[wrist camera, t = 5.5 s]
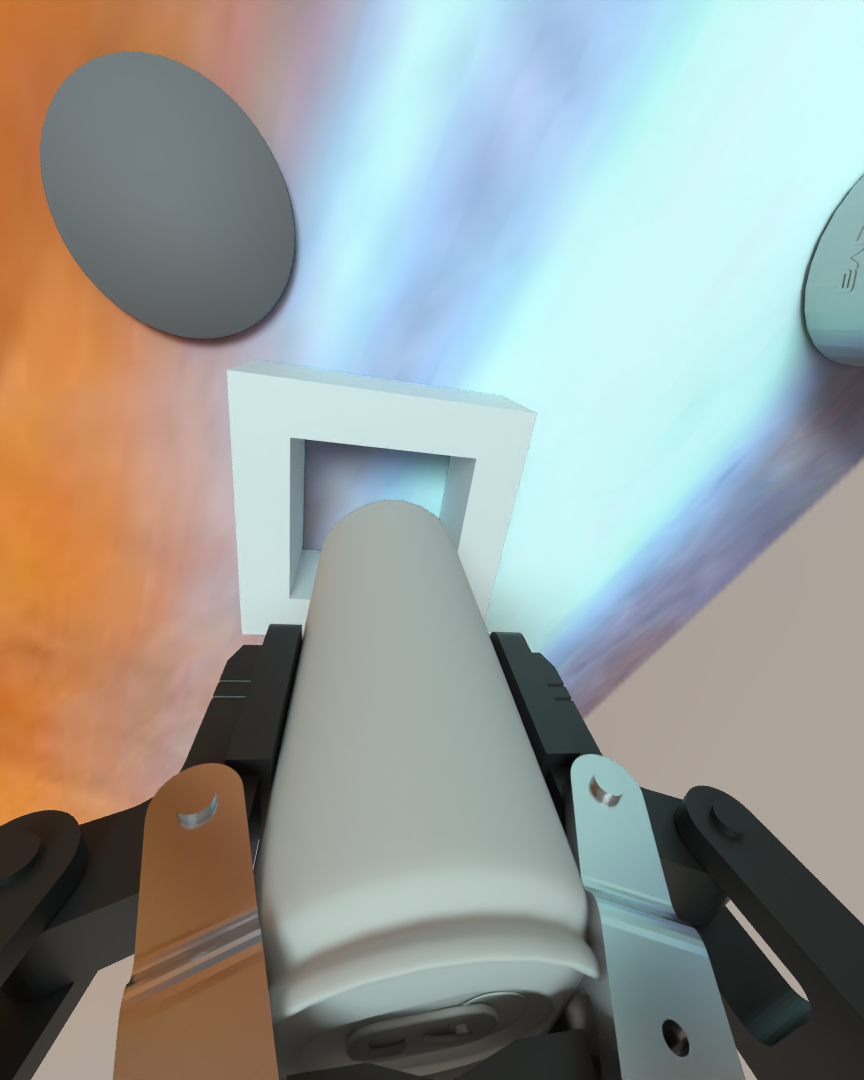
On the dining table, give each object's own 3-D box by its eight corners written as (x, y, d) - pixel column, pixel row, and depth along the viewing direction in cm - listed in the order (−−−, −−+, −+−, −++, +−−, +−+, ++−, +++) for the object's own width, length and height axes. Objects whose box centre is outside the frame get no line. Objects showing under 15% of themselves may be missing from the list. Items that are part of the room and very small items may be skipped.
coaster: (296, 100, 14) (294, 91, 14) (294, 352, 18) (292, 353, 17) (23, 27, 13) (9, 14, 12) (79, 319, 16) (69, 319, 16)
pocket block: (502, 395, 20) (537, 413, 16) (460, 589, 25) (479, 640, 21) (257, 359, 18) (227, 369, 14) (263, 579, 22) (241, 634, 19)
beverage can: (452, 601, 17) (590, 1064, 6) (330, 612, 16) (260, 1139, 6) (453, 488, 15) (669, 916, 4) (312, 497, 14) (145, 1014, 4)
